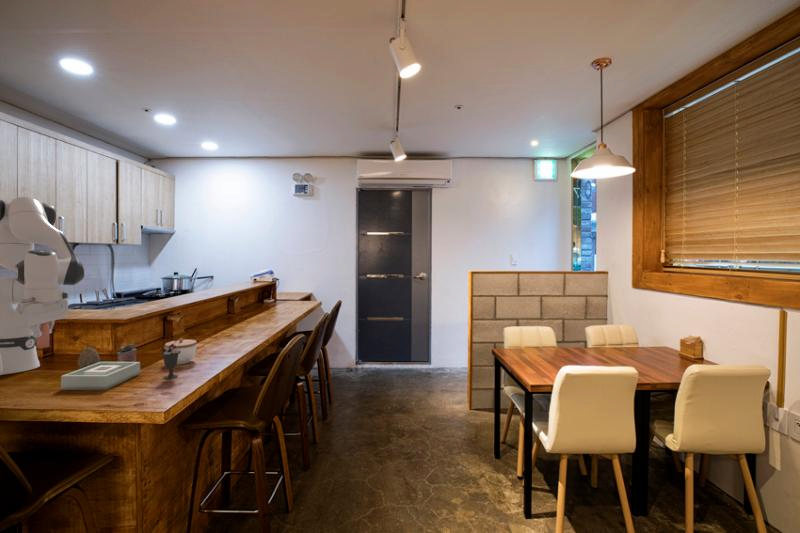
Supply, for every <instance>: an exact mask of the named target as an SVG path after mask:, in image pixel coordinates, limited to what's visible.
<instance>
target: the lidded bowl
mask: <svg viewBox="0 0 800 533" xmlns="http://www.w3.org/2000/svg"><path fill="white" fill-rule="evenodd" d="M175 342H176V343H175ZM171 344H174V346H177V347H176V348H177V349H178V350H179V351H180V353H179V355H178V360H177V365H183V364H184V365H185V364H187V363H190V362H191V360H192V359H193V358H194V357H195V356H196V352H197V344H198V342H197V340H196V339H183V338H182V337H181V338H179V339H177V341H176V340H173V341H172V340H171V341H169V342H166V343H164V348H165V349H166V348H167V347H168V346H171Z"/></svg>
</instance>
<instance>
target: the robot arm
mask: <svg viewBox="0 0 800 533" xmlns="http://www.w3.org/2000/svg"><path fill="white" fill-rule="evenodd" d="M57 218H58V214H57V210H56V208H55V206H53V205H51V204H49V203H45V202H40V201H39V200H37V199H35V198H33V197H29V196H19V197H15V198H14V199H12V198H11V199H10V198H9V199H8V198H0V267H1V268H5V269H8V270H10V271H13V272H15V276H14V277H0V376H2V375H10V374H16V373H22V372H26V371H30V370H34V369H37V368H40V366H41V363H40V360H39V358H38V353H37V345H36V344H37V337H41V336H42V335H43V334H42V333H43V332H42V331H40V328H39V327H41V324H42V323H46V322H49V335H50V334H53V328H54V325H55V321H56V320H57V321H59V320H62V319H65V318H66V317H67V316H68V313H69V301H68V299H69V297H70V296H69V292H66V291H63V290H61V289H60V285H63V286H74V285H77V284H79V283H80V282H81V281H83V279H84V278H85V268H84V265H83V263H82V261H80V260H79V258H78V256H77V255H76V253H75V252H74V250H73V248H72V246H71V245H70V242H69V241H68V238H67V237H66V236H65V234H64V232H63V231H61V230H59V229H58V228H57V227H54V225H55V223H56V222H57ZM35 244H36V245H41V246H45V247H48V248H51V249H53V250H54V251H53V250H46V249H35ZM55 251H56V252H55ZM58 258H59V259H58ZM16 304H17V306H16V308H15V305H16Z"/></svg>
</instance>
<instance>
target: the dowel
mask: <svg viewBox="0 0 800 533" xmlns="http://www.w3.org/2000/svg"><path fill="white" fill-rule="evenodd" d="M39 328H40V331H42V332H43V333H42V334H43V335H42V336H41V337H36V349H44V348H45V349H47V348H49V347H50V334H49V322H46V323H42V324H41V327H39Z"/></svg>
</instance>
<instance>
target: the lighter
mask: <svg viewBox="0 0 800 533" xmlns="http://www.w3.org/2000/svg"><path fill="white" fill-rule="evenodd" d="M135 346H136V344H135V343H131V344H126V345H125V344H124V345H123V346H121V347H119V349H120V351H119V352H116V355H117V362H137V351H138V350H137V348H135Z"/></svg>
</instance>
